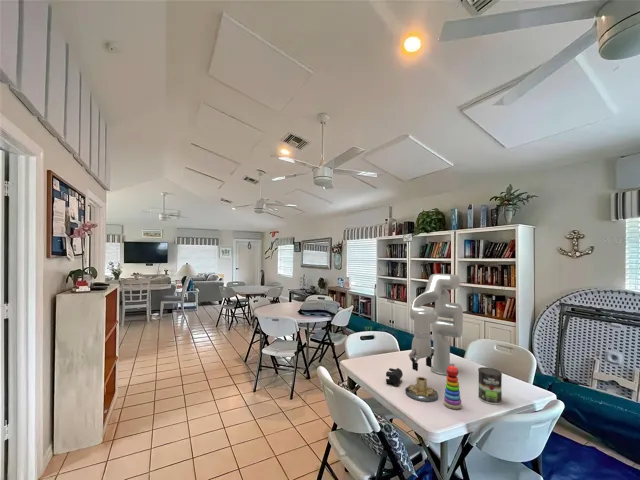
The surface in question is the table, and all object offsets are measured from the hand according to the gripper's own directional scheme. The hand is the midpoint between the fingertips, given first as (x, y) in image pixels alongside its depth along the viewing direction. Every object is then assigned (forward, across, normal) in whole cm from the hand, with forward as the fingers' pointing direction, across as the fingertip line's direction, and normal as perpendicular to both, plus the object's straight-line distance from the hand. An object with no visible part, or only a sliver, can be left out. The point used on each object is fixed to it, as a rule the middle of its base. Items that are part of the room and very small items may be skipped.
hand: (422, 368), depth 154 cm
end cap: (+14, +4, -16) cm, 22 cm away
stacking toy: (+13, -4, +15) cm, 20 cm away
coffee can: (+14, -26, +20) cm, 35 cm away
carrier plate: (+13, +1, 0) cm, 13 cm away
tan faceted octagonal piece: (+12, +1, 0) cm, 12 cm away
